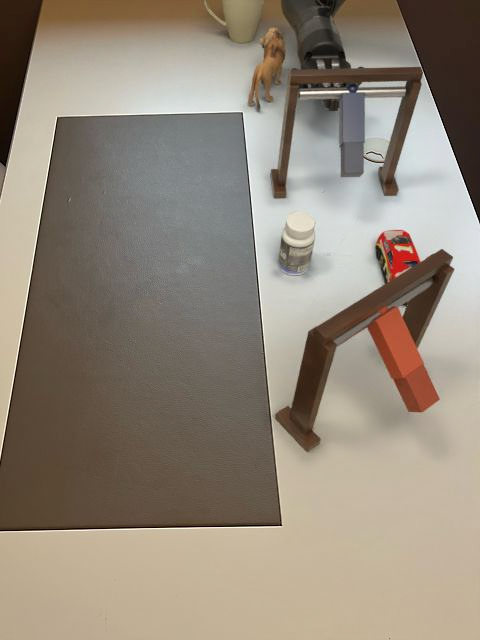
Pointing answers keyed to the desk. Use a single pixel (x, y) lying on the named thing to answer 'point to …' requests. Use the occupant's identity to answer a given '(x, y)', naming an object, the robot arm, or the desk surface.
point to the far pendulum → (352, 119)
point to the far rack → (347, 76)
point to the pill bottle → (297, 244)
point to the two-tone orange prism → (399, 351)
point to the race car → (395, 253)
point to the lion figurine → (268, 64)
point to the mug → (240, 18)
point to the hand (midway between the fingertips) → (334, 106)
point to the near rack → (321, 337)
